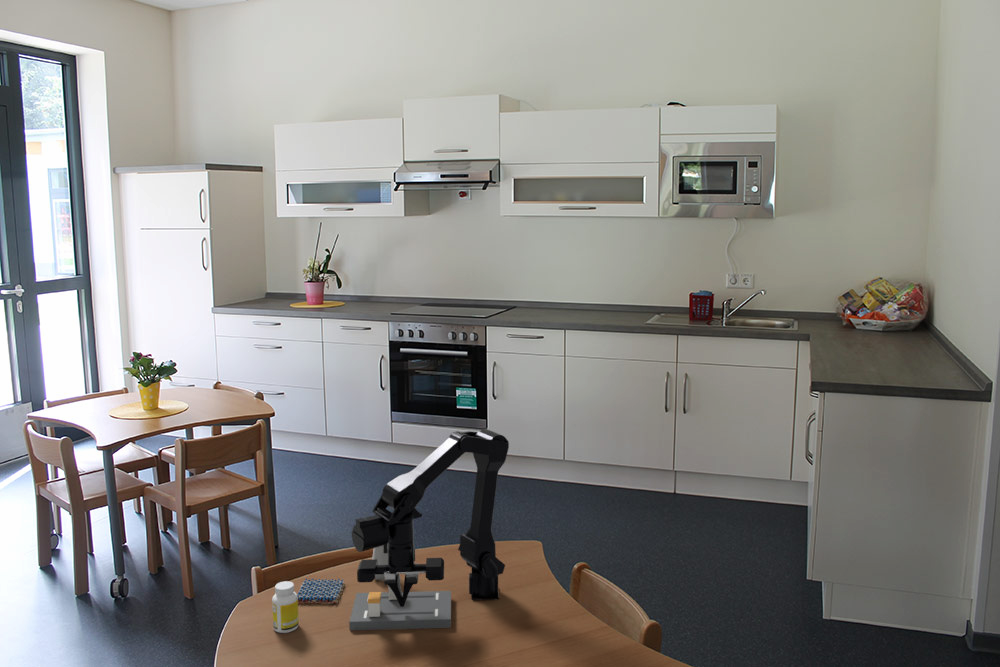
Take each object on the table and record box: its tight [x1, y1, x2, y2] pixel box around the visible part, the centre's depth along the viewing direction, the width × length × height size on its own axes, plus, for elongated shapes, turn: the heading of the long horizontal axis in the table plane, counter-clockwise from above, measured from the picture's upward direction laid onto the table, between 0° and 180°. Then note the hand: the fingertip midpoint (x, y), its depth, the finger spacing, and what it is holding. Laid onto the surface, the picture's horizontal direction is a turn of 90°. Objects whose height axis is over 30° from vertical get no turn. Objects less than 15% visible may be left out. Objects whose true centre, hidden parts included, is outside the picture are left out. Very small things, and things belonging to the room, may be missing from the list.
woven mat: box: [297, 578, 346, 605], centre depth 191 cm, size 10×11×2 cm
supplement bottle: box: [271, 580, 300, 634], centre depth 175 cm, size 5×5×10 cm
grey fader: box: [387, 585, 397, 600], centre depth 185 cm, size 3×3×4 cm
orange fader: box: [368, 591, 382, 617], centre depth 178 cm, size 3×3×4 cm
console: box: [348, 590, 452, 631], centre depth 182 cm, size 22×13×2 cm, turn 93°
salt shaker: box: [371, 545, 388, 582], centre depth 199 cm, size 6×6×13 cm
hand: (402, 605), depth 178 cm, fingers closed
